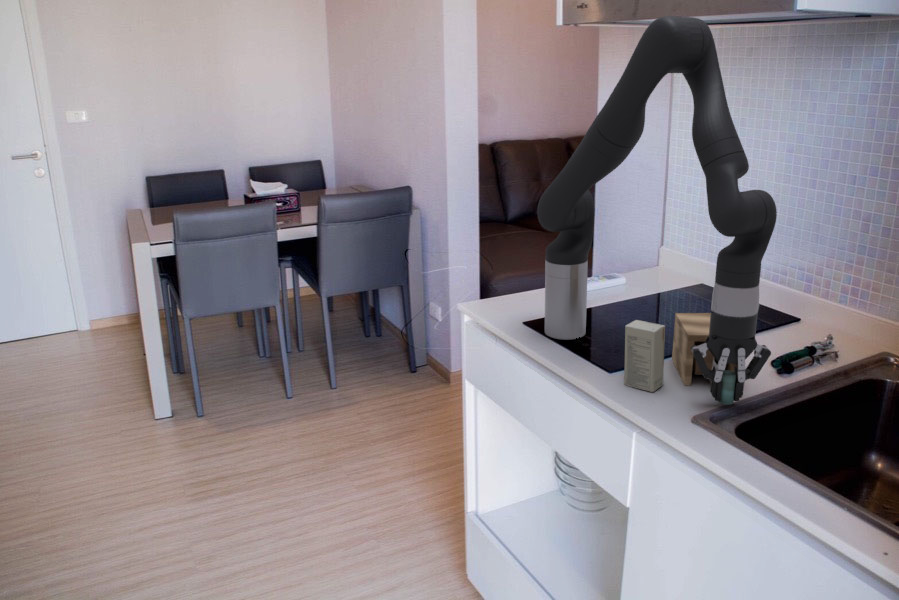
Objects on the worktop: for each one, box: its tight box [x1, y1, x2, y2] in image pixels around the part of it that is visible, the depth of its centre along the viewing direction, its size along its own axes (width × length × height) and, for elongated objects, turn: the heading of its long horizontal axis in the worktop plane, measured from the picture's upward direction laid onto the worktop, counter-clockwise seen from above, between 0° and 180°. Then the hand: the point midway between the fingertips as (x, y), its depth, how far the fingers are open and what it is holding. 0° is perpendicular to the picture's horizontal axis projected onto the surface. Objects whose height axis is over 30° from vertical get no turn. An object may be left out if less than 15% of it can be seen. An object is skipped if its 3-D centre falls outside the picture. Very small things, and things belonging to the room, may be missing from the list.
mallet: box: [692, 341, 736, 406], centre depth 140 cm, size 18×5×6 cm, turn 176°
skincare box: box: [623, 319, 666, 393], centre depth 140 cm, size 6×4×12 cm
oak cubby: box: [671, 312, 734, 386], centre depth 145 cm, size 12×10×10 cm
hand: (725, 398), depth 133 cm, fingers closed on mallet, 2 cm apart
